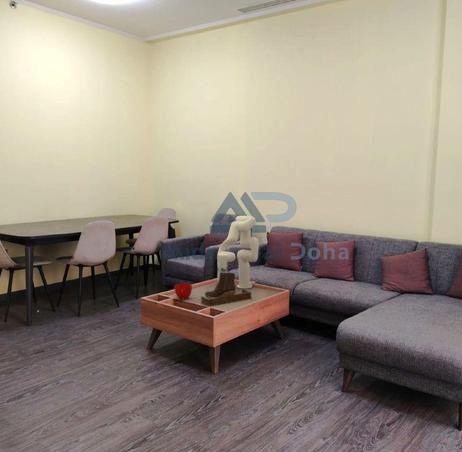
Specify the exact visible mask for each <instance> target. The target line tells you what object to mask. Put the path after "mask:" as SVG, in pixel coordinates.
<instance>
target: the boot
mask: <svg viewBox="0 0 462 452" xmlns="http://www.w3.org/2000/svg"><path fill="white" fill-rule="evenodd" d="M235 277H236V273H234V272H228V273H224V272H220V278H219V282H218V281H217V284H216V286H215V288H214V289H213V290H211V291H206V292H205V293H204V297H206V298H209V299H210V298H216V297H222V296H228V295H233V294H236V291H237V289H236V288H237V285H236V282H235Z"/></svg>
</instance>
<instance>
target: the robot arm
mask: <svg viewBox="0 0 462 452" xmlns="http://www.w3.org/2000/svg"><path fill="white" fill-rule="evenodd" d="M256 221H257V220H256V217H254V216H252V215H237V216H236V217H235V220H234V221H232V222H231V224H230V226H229V231H228V235H227V238H226V239H225V240H224V241H223V242H222V243H221V244H220V245H219V247H218V251H217V254H216V255H217V256H216V259H217V278H216V280H217V283H218V282H219V278H220V272H224V273H229V272H228V263H232V262H234V261H235V260H236V257H237V262H238V263H237V264H238V284H237V285H236V288H238V289H241V290H242V289H244V290H247V289H251V288H253V285H254V284H256V281H251V265H250V263H255V262H257V261H258V258H259V249H260V248H259V246H260V245H259V244H260V243H259V239H258V238H257V237H255V236H251V235H252V231H251V229H252V228H254V227H255V225H256ZM238 242H239V246H240V248H243V249H240V250H238V251H237V255H236V254H235V252H233V251H226V249H227V248H228V247H229V246H232V245H234V244H236V243H238Z"/></svg>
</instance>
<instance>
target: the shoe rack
mask: <svg viewBox="0 0 462 452" xmlns="http://www.w3.org/2000/svg"><path fill="white" fill-rule="evenodd" d="M200 297H201V299H200V300H201V301H200V302H201V304H203V305H204V306H207V307H212V306H218V305H223V304H228V303H229V304H230V303H234V302H235V303H236V302H239V301H245V300H251V299H252V291H249V290H247V289H241V292H240V293H235V294H233V295H228V296H222V297H216V298H208V297H206V296H205V295H201V296H200Z"/></svg>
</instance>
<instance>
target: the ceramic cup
mask: <svg viewBox="0 0 462 452" xmlns="http://www.w3.org/2000/svg"><path fill="white" fill-rule="evenodd" d="M192 285H193V284H191V283H178V284H175V285H174V293H175V295H176V297H177V298H178V299H179V300H180V301H181V300H183V301H184V300H188V299H189V298H190V296H191V295H192V290H193V286H192Z"/></svg>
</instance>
